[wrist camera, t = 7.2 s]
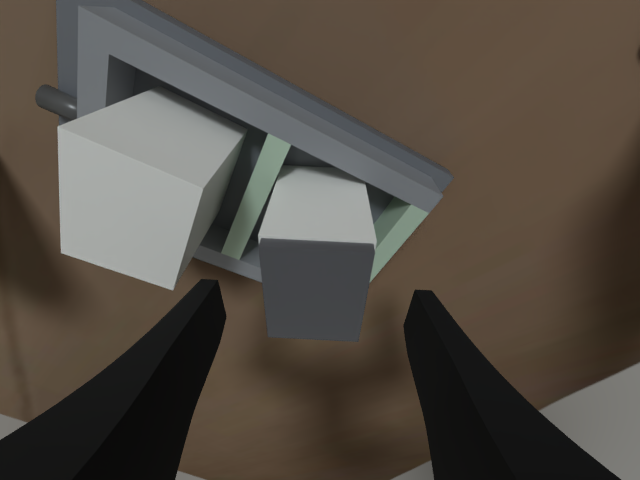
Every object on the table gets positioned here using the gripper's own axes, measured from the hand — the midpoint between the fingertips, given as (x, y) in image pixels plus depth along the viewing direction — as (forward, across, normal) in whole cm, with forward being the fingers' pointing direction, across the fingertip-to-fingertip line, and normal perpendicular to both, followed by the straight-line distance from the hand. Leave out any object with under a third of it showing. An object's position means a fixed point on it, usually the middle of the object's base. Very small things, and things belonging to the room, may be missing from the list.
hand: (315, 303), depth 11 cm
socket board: (+8, +4, -2) cm, 9 cm away
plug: (+6, 0, 0) cm, 7 cm away
